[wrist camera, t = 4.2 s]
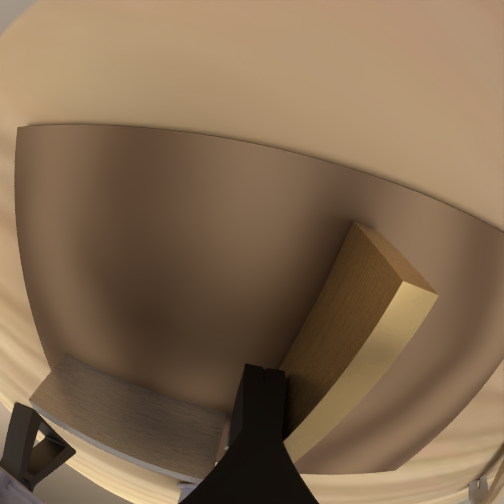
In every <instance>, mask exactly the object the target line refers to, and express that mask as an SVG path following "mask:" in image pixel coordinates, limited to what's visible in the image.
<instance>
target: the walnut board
mask: <svg viewBox="0 0 504 504" xmlns="http://www.w3.org/2000/svg"><path fill="white" fill-rule="evenodd" d="M15 213H16V226H17V236H18V244H19V252H20V259H21V265H22V270H23V276H24V281H25V286H26V290H27V295H28V299H29V303H30V307H31V311H32V315H33V318H34V322H35V325H36V328H37V332H38V335H39V338H40V341H41V344H42V347H43V350H44V353H45V355H46V358H47V361H48V363H49V366H50V368H51V371H52V370H53V369H54V367H55V366H56V365H57V364H58V363H59V361H60V360H61V359H62V358H63V357H64V356H65V354H66V353H67V354H69V355H71V356H73V357H75V358H77V359H79V360H81V361H83V362H85V363H87V364H89V365H91V366H93V367H95V368H98V369H100V370H102V371H104V372H107V373H109V374H111V375H113V376H116V377H118V378H121V379H123V380H126V381H128V382H131V383H133V384H136V385H138V386H141V387H144V388H146V389H149V390H152V391H155V392H158V393H161V394H164V395H167V396H170V397H173V398H176V399H179V400H183V401H186V402H190V403H193V404H197V405H200V406H204V407H208V408H212V409H216V410H220V411H224V412H227V413H226V418H225V422H224V427H223V431H222V436H221V440H220V445H219V449H218V453H217V458H216V462H219V461H220V460H221V459H222V457H223V454H224V451H225V444H226V439H227V435H228V430H229V425H230V420H231V417H232V413H233V408H234V404H235V399H236V394H237V391H238V388H239V384H240V381H241V377H242V373H243V370H244V366H245V363H247V364H251V365H256V366H261V367H263V369H264V370H265V369H267V368H272V369H277V370H278V368H279V367H280V365H281V363H282V362H283V360H284V358H285V356H286V355H287V353H288V351H289V350H290V348H291V346H292V344H293V342H294V341H295V339H296V337H297V335H298V333H299V332H300V330H301V328H302V326H303V324H304V322H305V320H306V319H307V317H308V315H309V313H310V311H311V309H312V307H313V305H314V303H315V301H316V299H317V298H318V296H319V294H320V292H321V290H322V288H323V286H324V284H325V282H326V280H327V277H328V275H329V273H330V271H331V269H332V267H333V265H334V263H335V261H336V259H337V257H338V254H339V252H340V250H341V248H342V246H343V244H344V241H345V239H346V237H347V235H348V232H349V230H350V228H351V226H352V223H353V221H355V222H357V223H360V224H362V225H364V226H367V227H369V228H372V229H374V230H376V231H378V232H380V233H381V234H382V235H383V236H384V237H385V238H386V239H387V240H388V241H389V242H390V243H391V244H392V245H393V246H394V247H395V248H396V249H397V250H398V251H399V252H400V253H401V254H402V255H403V256H404V257H405V258H406V259H407V260H408V261H409V262H410V263H411V264H412V265H413V267H414V268H415V269H416V270H417V271H418V272H419V273H420V274H421V275H422V276H423V278H424V279H425V280H426V281H427V282H428V283H429V284H430V285H431V287H432V288H433V289H434V290H435V291H436V292H437V294H438V295H439V296H438V298H437V300H436V301H435V303H434V305H433V306H432V308H431V310H430V311H429V313H428V314H427V316H426V317H425V319H424V321H423V322H422V324H421V325H420V327H419V328H418V329H417V331H416V332H415V334H414V335H413V337H412V338H411V340H410V341H409V342H408V344H407V345H406V346H405V348H404V349H403V351H402V352H401V353H400V355H399V356H398V357H397V358H396V360H395V361H394V362H393V364H392V365H391V366H390V367H389V369H388V370H387V371H386V372H385V374H384V375H383V376H382V377H381V378H380V380H379V381H378V382H377V383H376V384H375V385H374V387H373V388H372V389H371V390H370V391H369V392H368V393H367V395H366V396H365V397H364V398H363V399H362V400H361V401H360V402H359V403H358V404H357V405H356V406H355V407H354V409H353V410H352V411H351V412H350V413H349V414H348V415H347V416H346V417H345V418H344V419H343V420H342V421H341V422H340V423H339V424H338V425H337V426H336V427H335V428H333V429H332V430H331V431H330V432H329V433H328V434H327V435H326V436H325V437H324V438H323V439H322V440H321V441H319V442H318V443H317V444H316V445H315V446H314V447H313V448H311V449H310V450H309V451H308V452H307V453H306V454H304V455H303V456H302V457H301V458H299V459H298V460H297V461H296V462H294V463H293V464H294V465H295V467H296V469H297V471H298V473H299V474H328V475H334V474H363V473H376V472H386V471H394V470H396V469H398V468H399V467H400V466H402V465H403V464H404V463H406V462H407V461H408V460H410V459H411V458H412V457H413V456H414V455H416V454H417V453H418V452H419V451H421V450H422V449H423V448H424V447H425V446H426V445H427V444H429V443H430V442H431V441H432V440H433V439H434V438H435V437H436V436H437V435H438V434H440V433H441V432H442V431H443V430H444V429H445V428H446V427H447V426H448V425H449V424H450V423H451V422H452V421H453V420H454V419H455V418H456V417H457V416H458V415H459V413H460V412H461V411H462V410H463V409H464V408H465V407H466V406H467V405H468V404H469V402H470V401H471V400H472V399H473V398H474V397H475V395H476V394H477V393H478V392H479V391H480V389H481V388H482V387H483V386H484V384H485V383H486V382H487V381H488V379H489V378H490V377H491V375H492V374H493V373H494V371H495V370H496V369H497V367H498V366H499V364H500V363H501V362H502V360H503V359H504V233H503V232H502V231H500V230H498V229H496V228H494V227H492V226H490V225H488V224H487V223H485V222H483V221H481V220H479V219H477V218H475V217H473V216H471V215H468V214H466V213H464V212H462V211H460V210H458V209H456V208H454V207H451V206H449V205H447V204H445V203H442V202H440V201H438V200H435V199H433V198H431V197H428V196H426V195H423V194H421V193H418V192H416V191H413V190H411V189H408V188H406V187H403V186H400V185H398V184H395V183H392V182H390V181H387V180H384V179H381V178H378V177H375V176H372V175H369V174H366V173H363V172H360V171H357V170H354V169H351V168H348V167H344V166H341V165H338V164H334V163H331V162H327V161H324V160H320V159H317V158H313V157H309V156H305V155H301V154H297V153H293V152H289V151H285V150H281V149H277V148H272V147H268V146H263V145H258V144H253V143H248V142H243V141H238V140H233V139H227V138H221V137H215V136H209V135H202V134H195V133H188V132H180V131H172V130H163V129H153V128H142V127H128V126H111V125H41V126H25V127H18V128H17V138H16V151H15Z"/></svg>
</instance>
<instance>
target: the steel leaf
mask: <svg viewBox="0 0 504 504" xmlns="http://www.w3.org/2000/svg"><path fill="white" fill-rule="evenodd" d="M29 401H30V403H31V404H32V406H33V408H34V409H35V410H36V411H37V412H39V413H40V414H42V415H43V416H45V417H46V418H48V419H49V420H51V421H52V422H54V423H55V424H57V425H58V426H60V427H62V428H63V429H65V430H67V431H68V432H70V433H72V434H74V435H75V436H77V437H79V438H81V439H83V440H84V441H86V442H88V443H90V444H92V445H94V446H96V447H98V448H100V449H102V450H104V451H106V452H108V453H111V454H113V455H115V456H117V457H119V458H122V459H124V460H126V461H129V462H131V463H134V464H136V465H139V466H141V467H144V468H147V469H150V470H152V471H155V472H158V473H161V474H164V475H167V476H171V477H174V478H177V479H181V480H184V481H188V482H191V483H195V484H200V483H201V482H202V481H203V480H204V478H205V477H206V476H207V475H208V474H209V473H210V472H211V471H212V470H213V468H214V467H215V462H216V458H217V453H218V449H219V445H220V440H221V436H222V431H223V427H224V422H225V418H226V413H227V412H224V411H220V410H216V409H212V408H208V407H204V406H200V405H197V404H193V403H190V402H186V401H183V400H179V399H176V398H173V397H170V396H167V395H164V394H161V393H158V392H155V391H152V390H149V389H146V388H144V387H141V386H138V385H136V384H133V383H131V382H128V381H126V380H123V379H121V378H118V377H116V376H113V375H111V374H109V373H107V372H104V371H102V370H100V369H98V368H95V367H93V366H91V365H89V364H87V363H85V362H83V361H81V360H79V359H77V358H75V357H73V356H71V355H69V354H67V353H66V354H65V356H64V357H63V358H62V359H61V360H60V361H59V363H58V364H57V365H56V366H55V367H54V369H53V370H52V371H51V372H50V373H49V375H48V376H47V377H46V378H45V380H44V381H43V382H42V383H41V385H40V386H39V387H38V388H37V390H36V391H35V392H34V393H33V395H32V396H31V397H30V399H29ZM231 418H232V417H231ZM230 427H231V420H230V425H229V430H228V435H227V439H226V444H225V450H227V449H228V448H229V437H230Z"/></svg>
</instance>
